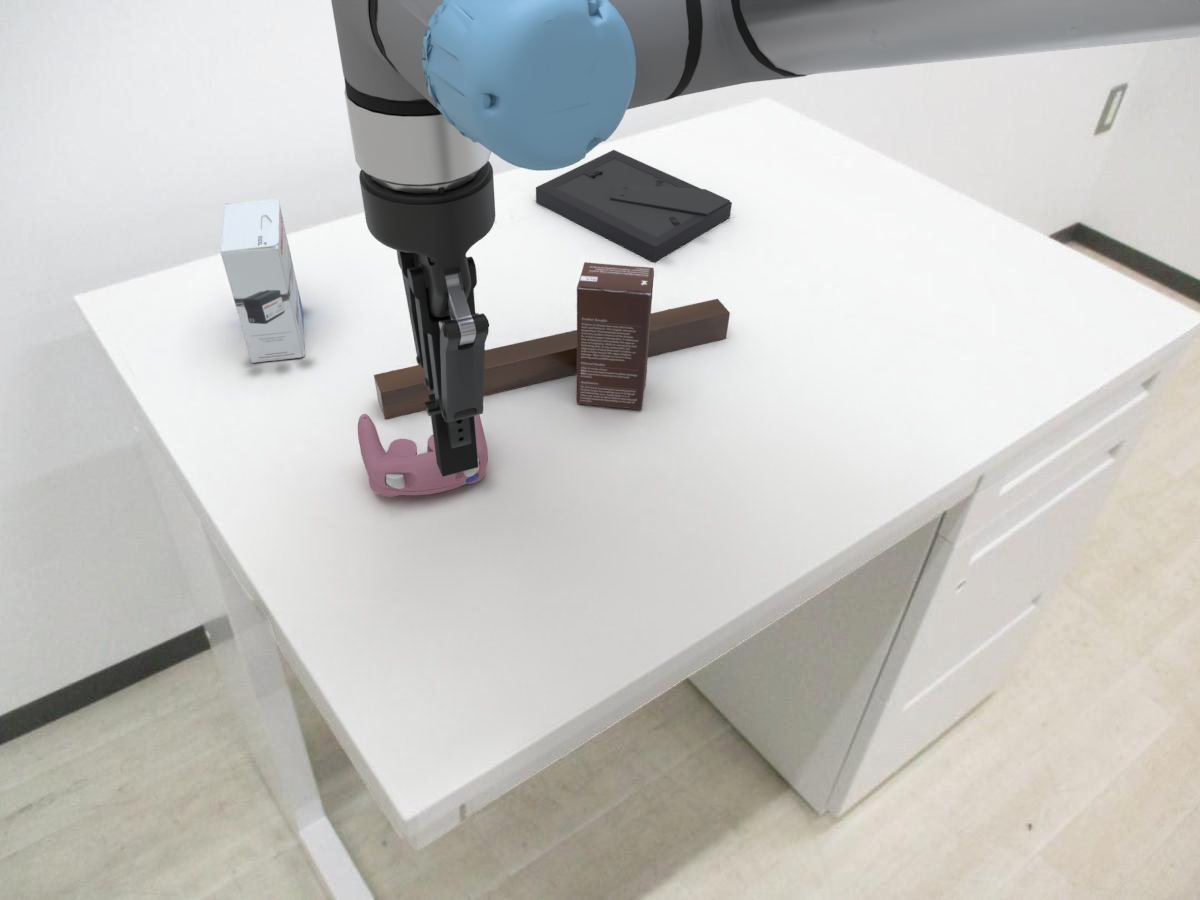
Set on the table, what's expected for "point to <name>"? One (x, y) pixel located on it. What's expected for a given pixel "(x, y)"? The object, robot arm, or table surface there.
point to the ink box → (262, 279)
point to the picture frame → (634, 204)
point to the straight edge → (553, 357)
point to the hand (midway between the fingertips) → (457, 465)
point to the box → (613, 334)
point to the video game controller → (412, 464)
